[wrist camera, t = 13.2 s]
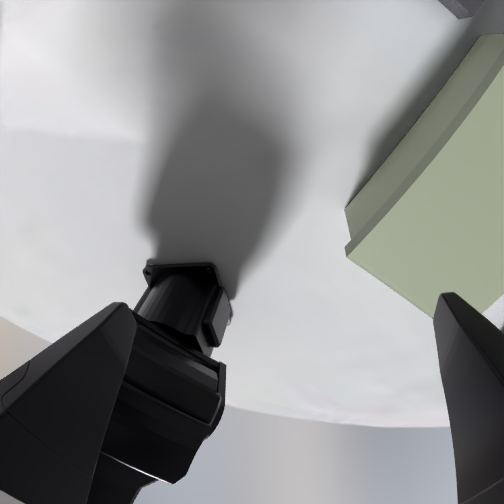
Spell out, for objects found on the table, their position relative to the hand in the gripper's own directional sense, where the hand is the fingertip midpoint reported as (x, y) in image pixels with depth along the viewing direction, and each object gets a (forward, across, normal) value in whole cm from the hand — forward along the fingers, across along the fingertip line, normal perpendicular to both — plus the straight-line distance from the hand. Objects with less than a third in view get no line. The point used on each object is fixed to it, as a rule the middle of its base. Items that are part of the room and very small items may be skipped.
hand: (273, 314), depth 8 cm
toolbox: (+13, -12, 0) cm, 18 cm away
